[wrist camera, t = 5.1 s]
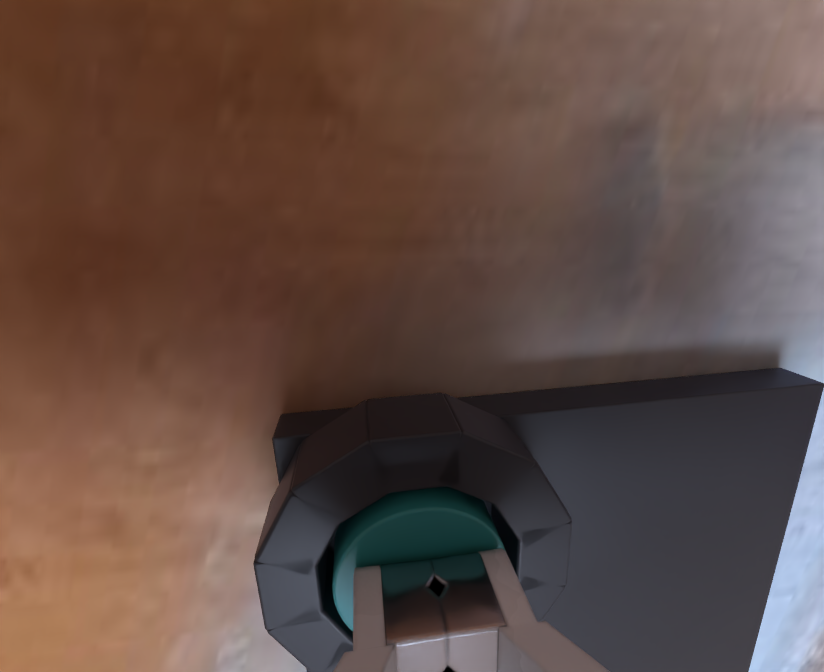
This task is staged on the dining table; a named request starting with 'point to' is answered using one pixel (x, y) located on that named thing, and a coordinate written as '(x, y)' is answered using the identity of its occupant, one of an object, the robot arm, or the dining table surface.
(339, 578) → the button
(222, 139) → the dining table surface
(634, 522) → the scale
